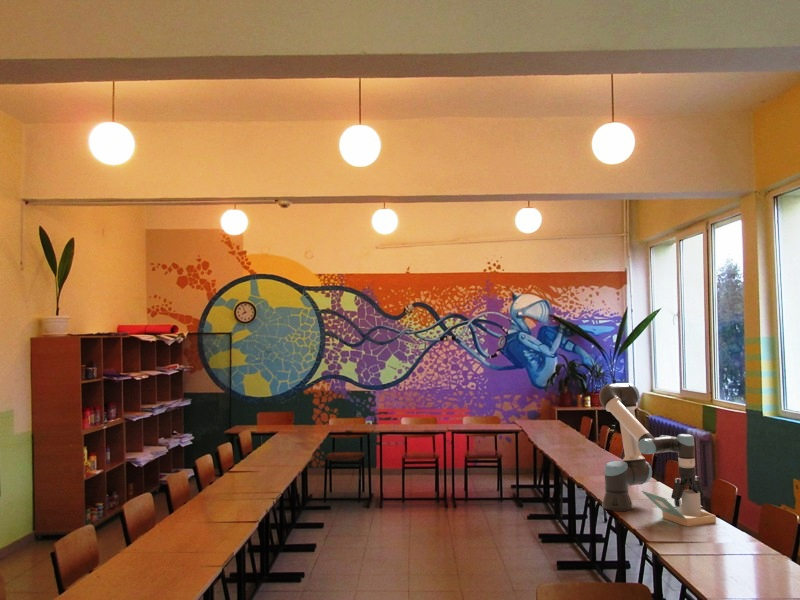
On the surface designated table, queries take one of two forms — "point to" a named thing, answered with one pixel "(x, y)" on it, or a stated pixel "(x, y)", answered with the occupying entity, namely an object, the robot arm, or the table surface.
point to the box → (691, 519)
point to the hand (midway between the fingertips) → (688, 512)
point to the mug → (691, 503)
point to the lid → (663, 504)
